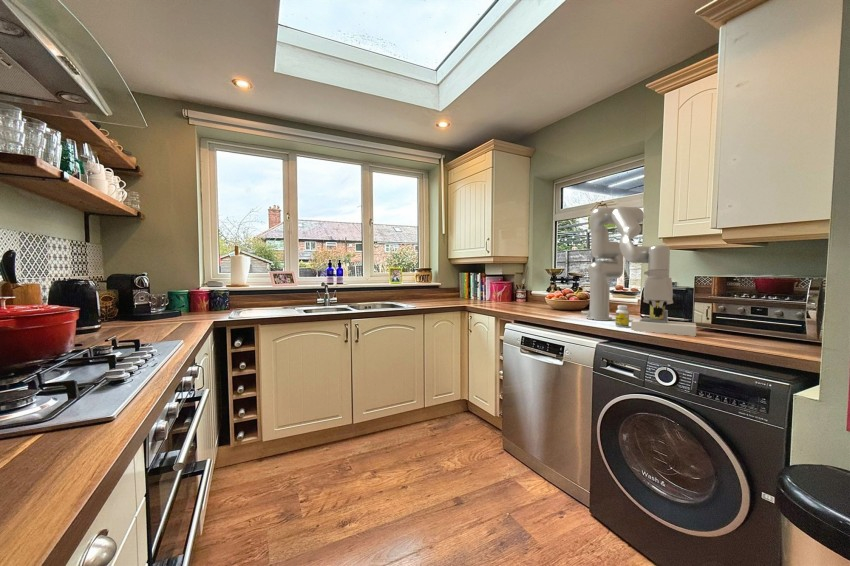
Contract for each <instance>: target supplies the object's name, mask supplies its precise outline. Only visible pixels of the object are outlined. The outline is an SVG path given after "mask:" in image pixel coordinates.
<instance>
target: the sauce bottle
mask: <svg viewBox="0 0 850 566" xmlns="http://www.w3.org/2000/svg"><path fill="white" fill-rule="evenodd" d="M649 301H652V300H649ZM664 302H666V301H664ZM659 305H660V301H656V306H657V308H658V306H659ZM664 310H666V305H665V306H664V307H662V315H660V317H655V315H653V307H652V306H651V305H650V304H649V318H659V319H663V311H664Z"/></svg>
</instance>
